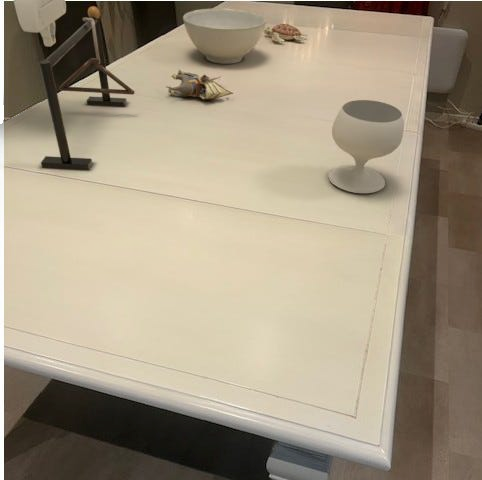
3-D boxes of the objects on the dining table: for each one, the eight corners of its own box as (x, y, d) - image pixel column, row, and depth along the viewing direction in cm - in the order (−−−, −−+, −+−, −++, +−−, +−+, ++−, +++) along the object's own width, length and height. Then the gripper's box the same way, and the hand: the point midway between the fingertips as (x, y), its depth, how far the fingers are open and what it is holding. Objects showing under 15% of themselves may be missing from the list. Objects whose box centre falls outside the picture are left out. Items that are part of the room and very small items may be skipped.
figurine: (196, 62, 143) (246, 74, 137) (196, 83, 146) (244, 96, 141) (155, 75, 129) (208, 89, 123) (155, 99, 133) (207, 113, 127)
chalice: (319, 190, 100) (331, 118, 90) (328, 161, 110) (340, 93, 100) (387, 202, 98) (407, 129, 88) (390, 171, 108) (409, 103, 98)
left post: (124, 106, 129) (112, 8, 114) (87, 104, 129) (70, 6, 114) (126, 102, 131) (115, 6, 116) (90, 100, 131) (73, 3, 116)
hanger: (134, 95, 121) (126, 20, 109) (58, 91, 121) (42, 15, 109) (135, 93, 121) (127, 19, 110) (59, 89, 121) (44, 14, 110)
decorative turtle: (268, 30, 193) (269, 16, 189) (309, 35, 190) (311, 21, 187) (258, 42, 180) (258, 27, 176) (301, 47, 177) (303, 32, 174)
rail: (88, 170, 103) (69, 65, 89) (42, 167, 103) (14, 62, 89) (125, 104, 130) (114, 17, 116) (88, 102, 130) (73, 14, 116)
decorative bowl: (256, 47, 175) (258, 8, 167) (269, 71, 156) (272, 29, 148) (182, 46, 172) (181, 7, 164) (186, 71, 153) (185, 28, 144)
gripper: (38, -37, 109) (51, 32, 118) (2, -21, 94) (20, 56, 103) (66, -34, 109) (77, 34, 118) (35, -19, 94) (49, 58, 103)
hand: (50, 44), depth 110 cm, fingers closed
